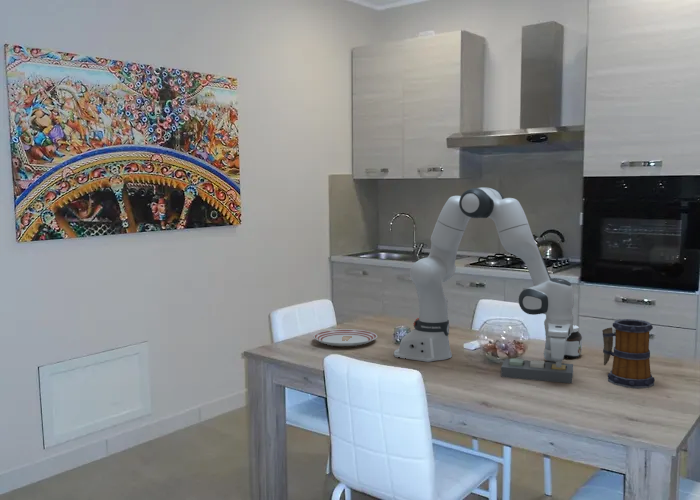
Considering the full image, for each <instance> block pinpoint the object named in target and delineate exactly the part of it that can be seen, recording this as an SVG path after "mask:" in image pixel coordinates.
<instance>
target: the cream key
mask: <svg viewBox="0 0 700 500" xmlns="http://www.w3.org/2000/svg"><path fill="white" fill-rule="evenodd" d="M530 361H531V363H530V367H536V368H544V366H545V362H546V360H537V359H536V360H535V359H531V360H530Z"/></svg>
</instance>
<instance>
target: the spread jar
mask: <svg viewBox="0 0 700 500" xmlns="http://www.w3.org/2000/svg"><path fill="white" fill-rule="evenodd" d="M579 330H580V327H579V326H578V325H574V324H573V333H571V334H570V335H569V337H568V338H567V340H566V347H565V353H564V358H563V359H569V360H572V359H573V360H574V359H578V358H579V357H580V356H581V354H582V352H583V351H582V350H583V336H582V334H581V332H580V331H579Z"/></svg>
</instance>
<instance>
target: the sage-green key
mask: <svg viewBox="0 0 700 500" xmlns="http://www.w3.org/2000/svg"><path fill="white" fill-rule="evenodd" d="M509 359H510V361H509V365H513V366H523V365H524V360H525V359H524V358H514V357H513V358H509Z"/></svg>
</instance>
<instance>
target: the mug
mask: <svg viewBox="0 0 700 500" xmlns="http://www.w3.org/2000/svg"><path fill="white" fill-rule="evenodd" d="M613 328H614V329H615V332H613ZM651 330H653V324H651V322H649V321H647V320H642V319H632V318H622V319H621V318H619V319H616V320H614V322H613V323H612V327H608V328H605V329H602V337H603V338H602V340H603V351H602V353H603V366H607V364H608V362H609V360H610V358H611V356H612V357H613V359H612V365H611V366H612V367H611V370H610V371H609V373H608V374H607V381H608V382H609V383H611V384H612V385H614V386H619V387H621V388H622V387H623V388H626V389H627V388H629V389H630V388H631V389H637V390H640V389H649V388H652V387H655V380H656V379H655V377H653V375H652V373H651V362H650V358H651V351H650V332H651ZM614 339H615V342H614ZM614 344H615V345H614Z"/></svg>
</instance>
